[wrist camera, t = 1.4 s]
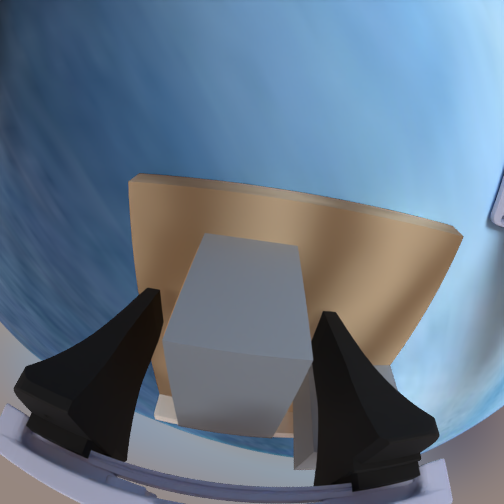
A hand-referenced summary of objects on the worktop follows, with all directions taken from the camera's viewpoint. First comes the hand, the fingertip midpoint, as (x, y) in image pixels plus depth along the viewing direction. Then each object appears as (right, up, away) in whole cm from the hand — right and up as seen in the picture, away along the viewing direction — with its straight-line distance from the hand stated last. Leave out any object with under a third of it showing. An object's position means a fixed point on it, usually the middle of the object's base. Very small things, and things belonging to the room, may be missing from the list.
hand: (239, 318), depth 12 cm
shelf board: (+2, -2, +5) cm, 6 cm away
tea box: (0, +1, +1) cm, 2 cm away
